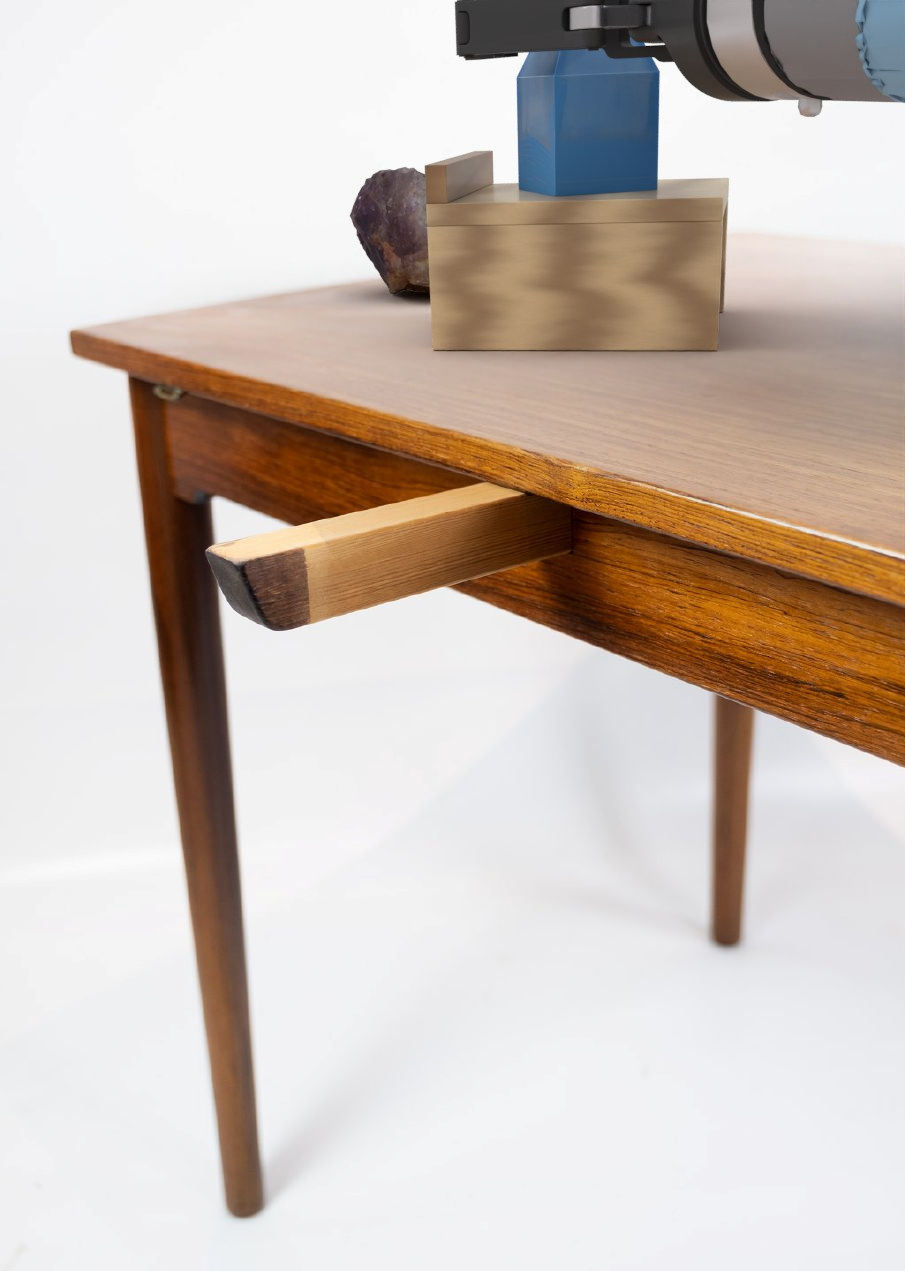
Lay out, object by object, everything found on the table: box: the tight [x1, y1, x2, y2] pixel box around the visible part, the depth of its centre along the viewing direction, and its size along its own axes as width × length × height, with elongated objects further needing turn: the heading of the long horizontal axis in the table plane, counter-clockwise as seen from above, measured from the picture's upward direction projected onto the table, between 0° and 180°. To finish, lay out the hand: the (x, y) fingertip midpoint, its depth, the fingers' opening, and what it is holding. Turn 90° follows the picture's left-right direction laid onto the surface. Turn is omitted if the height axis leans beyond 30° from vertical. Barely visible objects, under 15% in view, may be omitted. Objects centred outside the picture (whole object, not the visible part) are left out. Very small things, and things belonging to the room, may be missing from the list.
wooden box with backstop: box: [424, 150, 730, 352], centre depth 79 cm, size 16×14×10 cm
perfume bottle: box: [516, 37, 661, 196], centre depth 75 cm, size 6×6×12 cm
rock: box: [349, 166, 430, 295], centre depth 96 cm, size 12×9×10 cm
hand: (585, 30), depth 75 cm, fingers open, 13 cm apart
